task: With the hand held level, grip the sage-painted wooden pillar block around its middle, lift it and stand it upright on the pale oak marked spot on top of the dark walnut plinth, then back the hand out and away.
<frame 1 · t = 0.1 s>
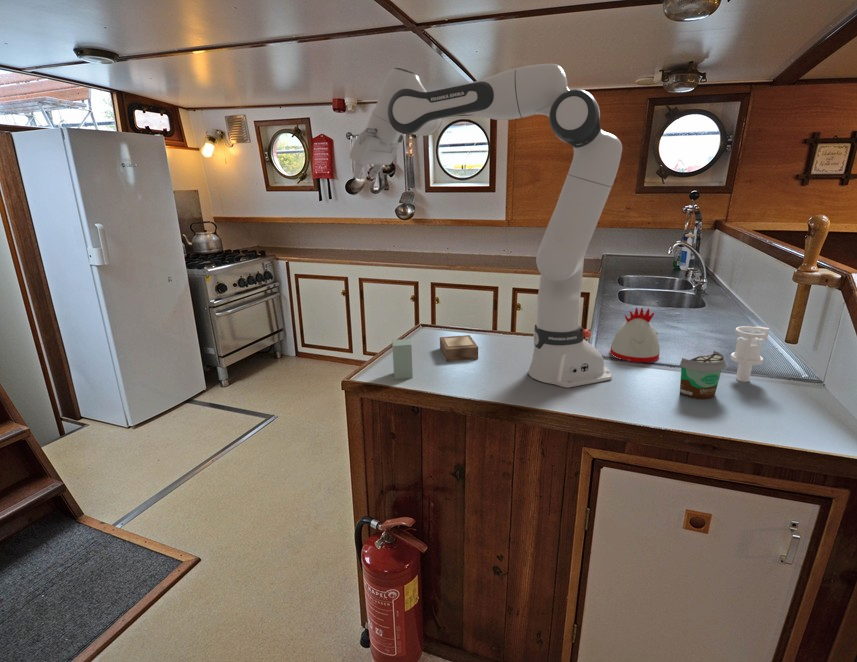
hand: (364, 177, 137), 54 cm above the counter, tool tilted 30°, fingers open, 8 cm apart
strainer: (742, 380, 128), on the counter
food container: (703, 396, 119), on the counter
build plinth: (458, 353, 152), on the counter
pillar block: (403, 375, 137), on the counter
kitchen timer: (634, 355, 148), on the counter
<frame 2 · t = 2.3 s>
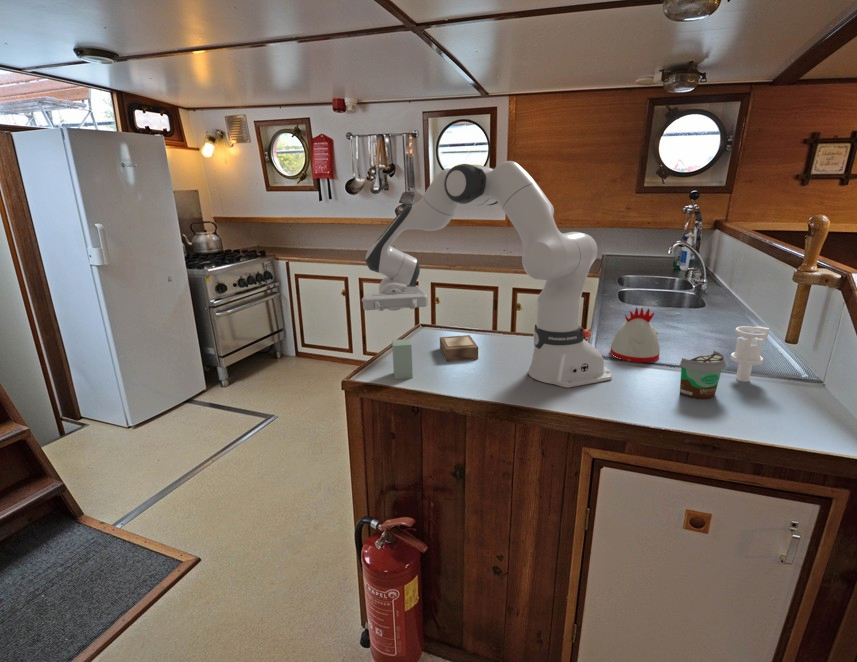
hand: (396, 307, 143), 17 cm above the counter, tool horizontal, fingers open, 8 cm apart
nothing on the counter moved.
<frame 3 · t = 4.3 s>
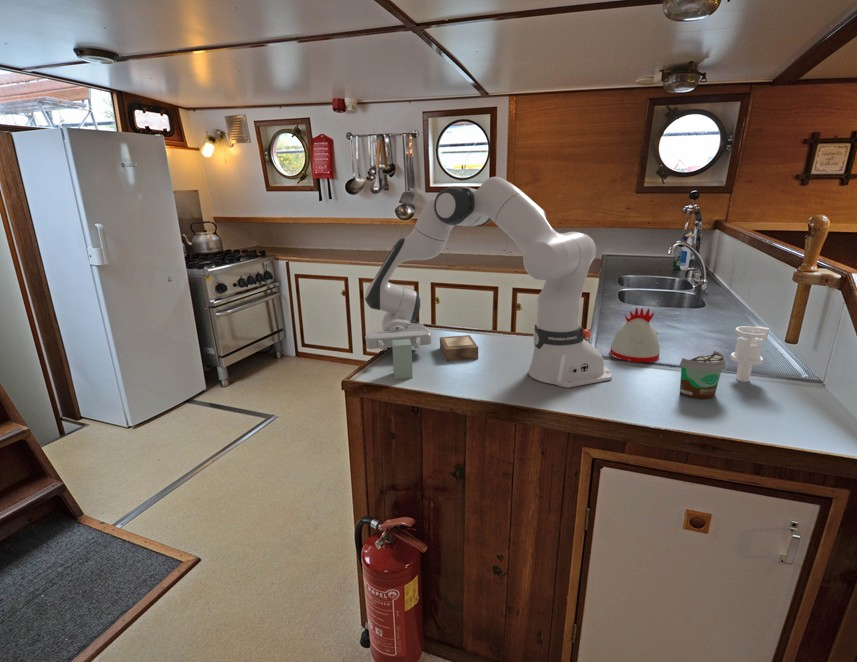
hand: (400, 346, 142), 6 cm above the counter, tool horizontal, fingers open, 8 cm apart
nothing on the counter moved.
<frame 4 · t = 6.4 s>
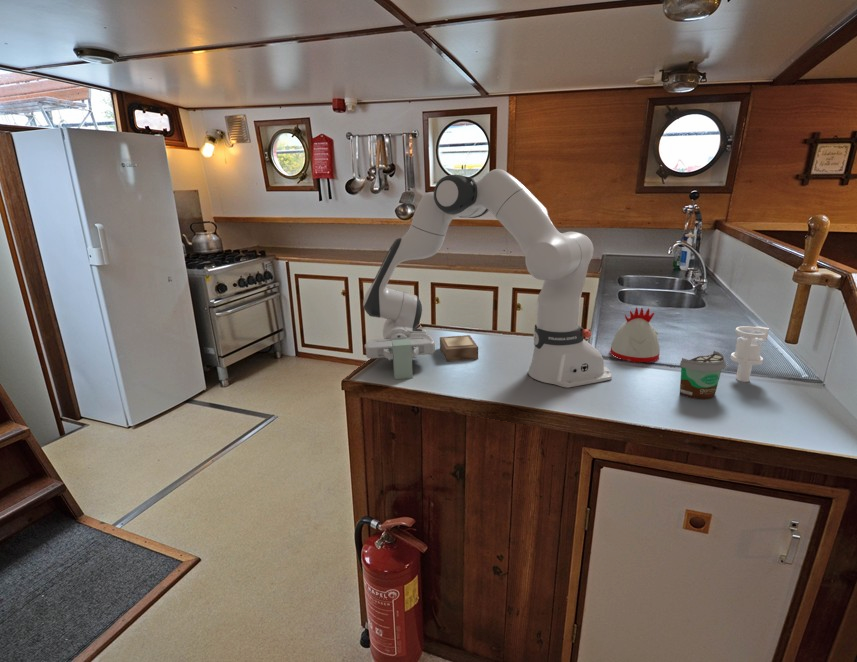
hand: (402, 356, 134), 6 cm above the counter, tool horizontal, fingers closed on pillar block, 5 cm apart
pillar block: (403, 375, 137), on the counter, touching gripper
everything else where it was.
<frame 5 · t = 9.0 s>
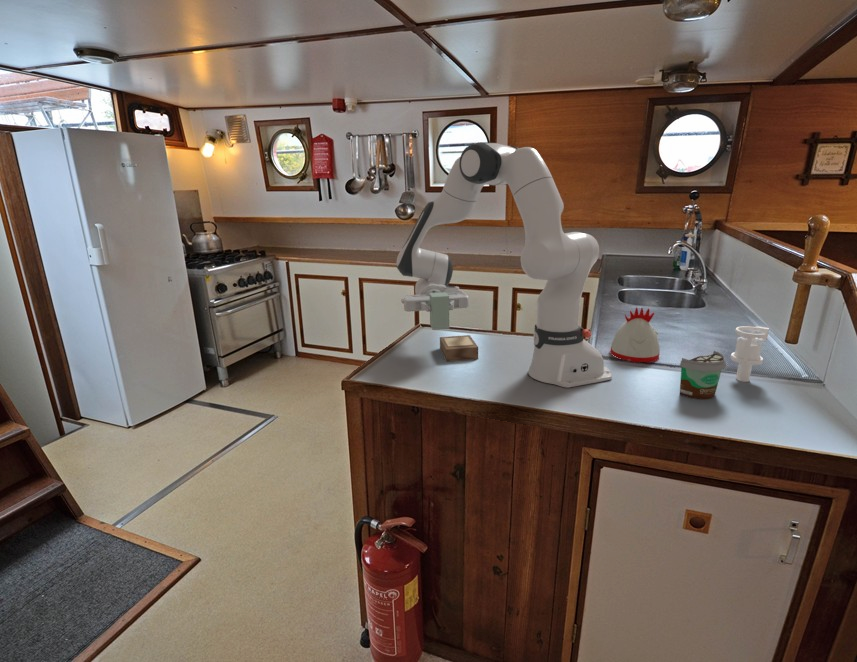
hand: (440, 308, 141), 17 cm above the counter, tool horizontal, fingers closed on pillar block, 5 cm apart
pillar block: (439, 327, 143), point 11 cm above the counter, touching gripper
everything else where it was.
when the fingers open (11 cm above the counter, at t = 11.4 s): pillar block drops 1 cm, resting on build plinth.
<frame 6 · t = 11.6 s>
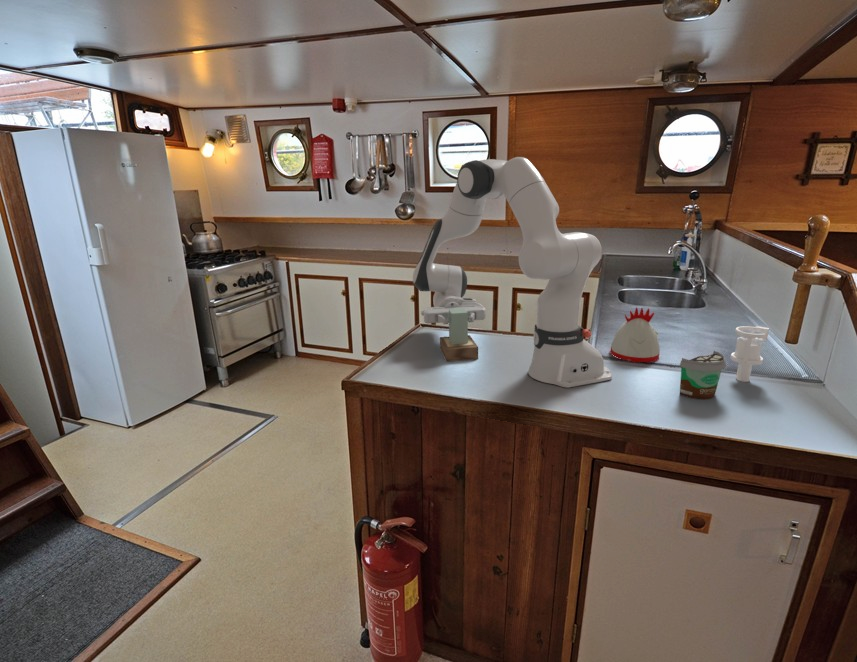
hand: (458, 320, 148), 11 cm above the counter, tool horizontal, fingers open, 7 cm apart
pillar block: (458, 341, 151), point 4 cm above the counter, touching build plinth
everything else where it was.
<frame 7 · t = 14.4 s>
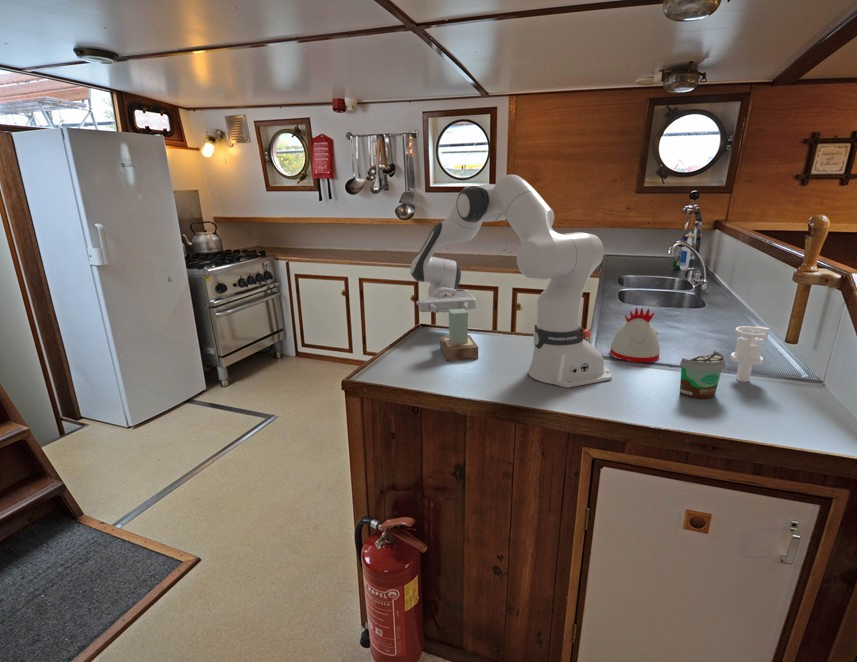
hand: (450, 309, 160), 11 cm above the counter, tool horizontal, fingers open, 8 cm apart
nothing on the counter moved.
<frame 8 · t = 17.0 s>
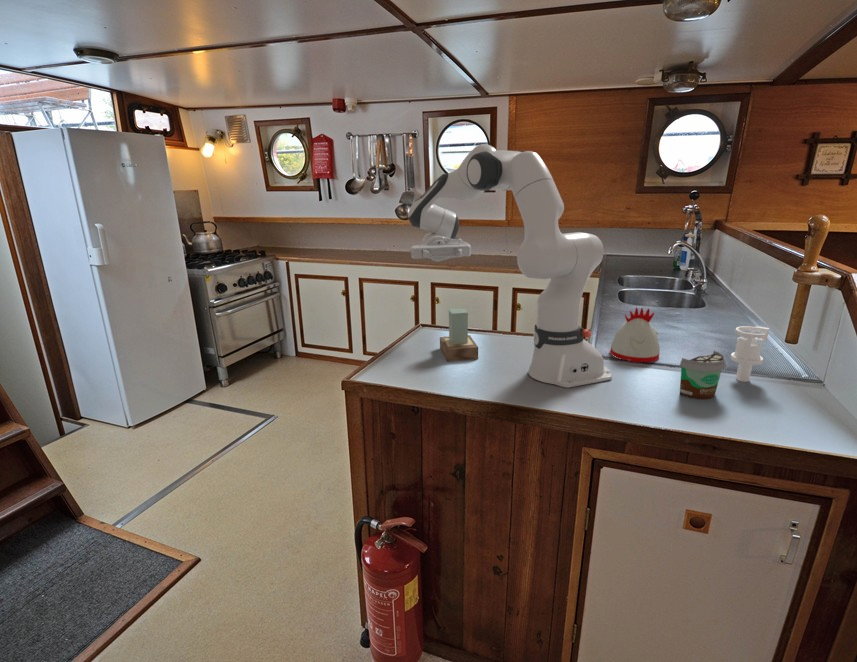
hand: (444, 254, 154), 30 cm above the counter, tool horizontal, fingers open, 8 cm apart
nothing on the counter moved.
at the end: pillar block 0.0 cm off-centre on the build plinth, point 4.1 cm above the build plinth's base; pillar block tilted 0°; the gripper is holding nothing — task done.
